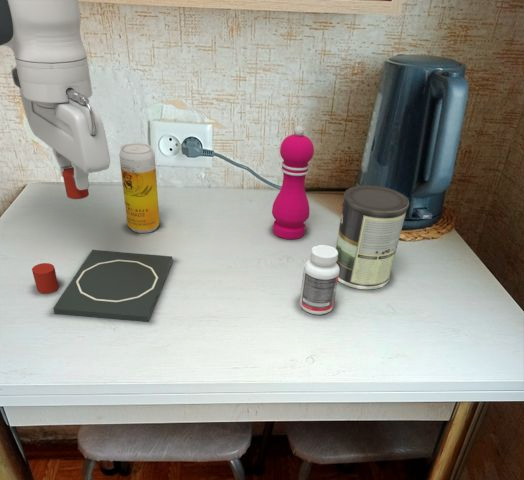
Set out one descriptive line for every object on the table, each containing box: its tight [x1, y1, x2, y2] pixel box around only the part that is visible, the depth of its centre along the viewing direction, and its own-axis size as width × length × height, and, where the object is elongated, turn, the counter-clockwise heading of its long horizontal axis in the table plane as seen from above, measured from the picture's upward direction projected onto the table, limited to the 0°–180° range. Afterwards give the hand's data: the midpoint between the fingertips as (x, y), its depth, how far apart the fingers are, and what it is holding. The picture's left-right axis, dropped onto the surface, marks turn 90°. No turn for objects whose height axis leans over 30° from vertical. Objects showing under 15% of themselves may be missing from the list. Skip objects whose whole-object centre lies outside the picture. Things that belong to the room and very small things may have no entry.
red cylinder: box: [62, 168, 90, 200], centre depth 77 cm, size 3×3×4 cm
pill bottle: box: [299, 244, 340, 315], centre depth 78 cm, size 5×5×10 cm
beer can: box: [118, 142, 161, 234], centre depth 94 cm, size 6×6×15 cm
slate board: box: [52, 249, 174, 323], centre depth 82 cm, size 14×18×1 cm
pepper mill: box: [271, 125, 315, 240], centre depth 94 cm, size 7×7×20 cm
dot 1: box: [31, 262, 60, 295], centre depth 79 cm, size 3×3×4 cm
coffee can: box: [335, 184, 410, 291], centre depth 85 cm, size 10×10×14 cm
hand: (75, 182), depth 76 cm, fingers closed on red cylinder, 3 cm apart
